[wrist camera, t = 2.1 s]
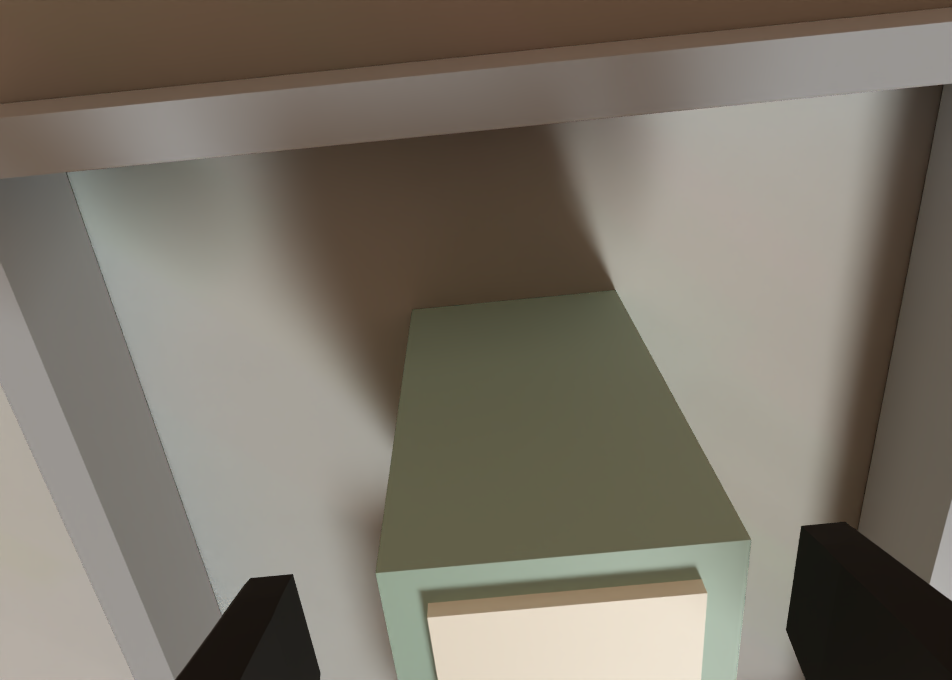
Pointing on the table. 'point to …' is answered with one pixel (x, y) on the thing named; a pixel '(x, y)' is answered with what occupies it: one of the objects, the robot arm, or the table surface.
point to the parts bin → (396, 117)
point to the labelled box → (552, 505)
